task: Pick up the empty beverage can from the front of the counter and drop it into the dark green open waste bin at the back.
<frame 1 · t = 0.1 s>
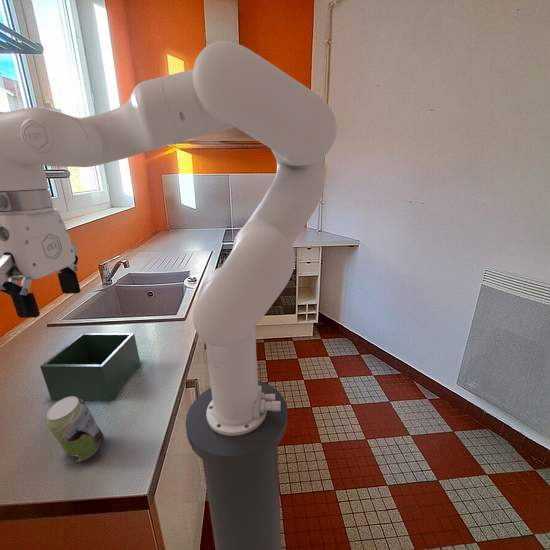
hand: (52, 303, 52), 29 cm above the worktop, tool pointing down, fingers open, 9 cm apart
waste bin: (99, 380, 78), on the worktop
beverage can: (84, 453, 57), on the worktop
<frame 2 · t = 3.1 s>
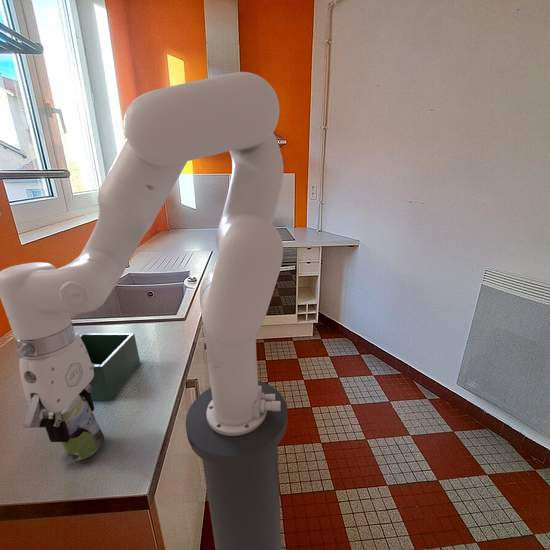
hand: (73, 424, 55), 7 cm above the worktop, tool pointing down, fingers closed on beverage can, 6 cm apart
beverage can: (84, 453, 57), on the worktop, touching gripper
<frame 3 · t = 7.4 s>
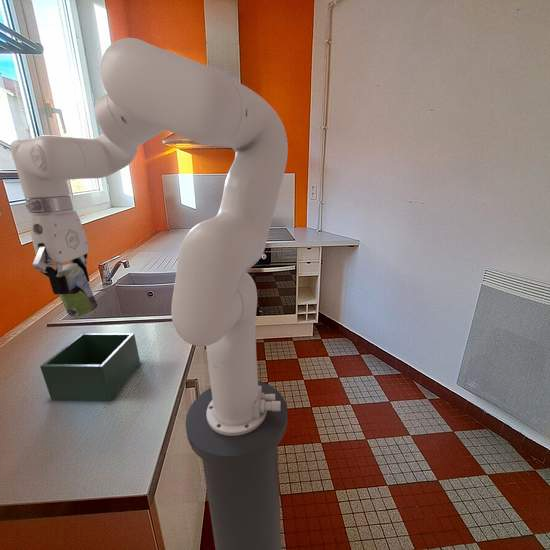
hand: (72, 287, 67), 26 cm above the worktop, tool pointing down, fingers closed on beverage can, 6 cm apart
beverage can: (80, 315, 70), point 19 cm above the worktop, touching gripper
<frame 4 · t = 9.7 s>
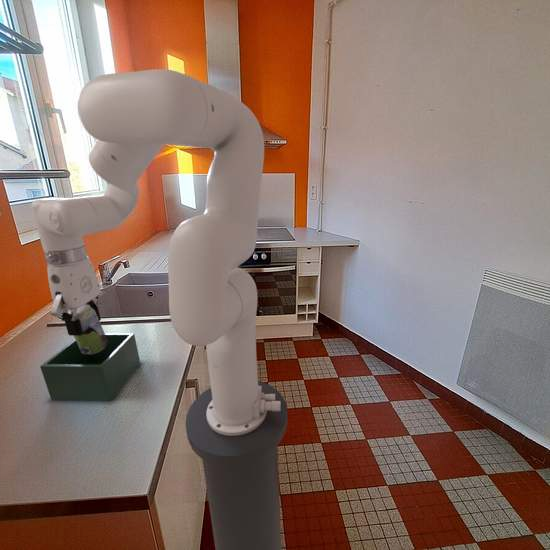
hand: (85, 326, 73), 15 cm above the worktop, tool pointing down, fingers closed on beverage can, 6 cm apart
beverage can: (92, 352, 75), point 8 cm above the worktop, touching gripper
when the fingers open (10 cm above the worktop, at t = 11.7 s): beverage can drops 3 cm, resting on waste bin.
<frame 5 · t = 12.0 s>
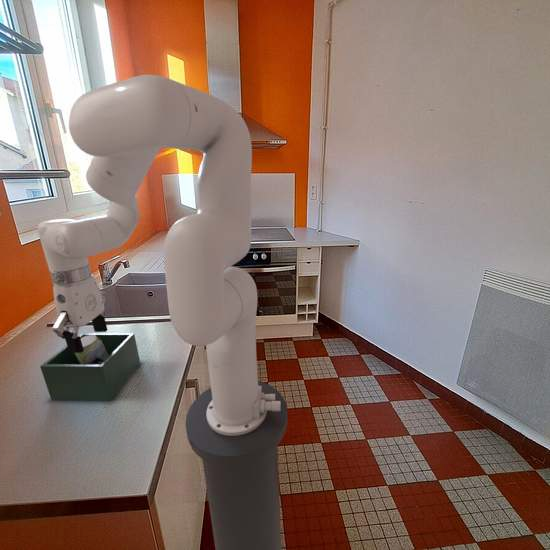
hand: (89, 341, 74), 12 cm above the worktop, tool pointing down, fingers open, 9 cm apart
beverage can: (100, 379, 77), resting on waste bin
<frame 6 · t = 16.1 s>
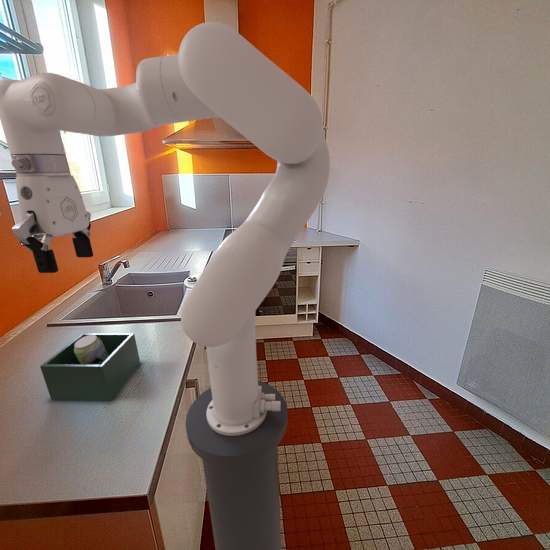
hand: (68, 264, 56), 34 cm above the worktop, tool pointing down, fingers open, 9 cm apart
nothing on the worktop moved.
at the end: beverage can inside the target area in the waste bin (0.3 cm from its centre), point 0.3 cm above the waste bin's base; the gripper is holding nothing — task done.
